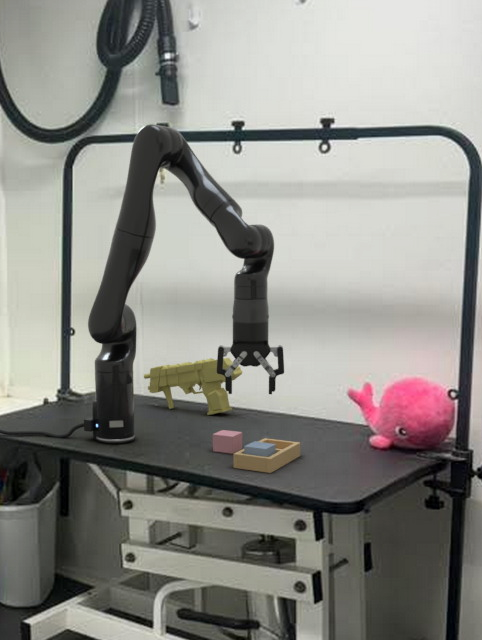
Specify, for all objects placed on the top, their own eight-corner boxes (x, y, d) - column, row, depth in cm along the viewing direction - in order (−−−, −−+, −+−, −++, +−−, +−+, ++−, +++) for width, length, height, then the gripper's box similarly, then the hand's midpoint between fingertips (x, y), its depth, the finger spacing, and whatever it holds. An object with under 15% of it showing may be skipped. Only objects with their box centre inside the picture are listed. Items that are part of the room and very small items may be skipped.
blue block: (244, 464, 200) (244, 446, 200) (254, 458, 204) (254, 441, 204) (265, 467, 198) (266, 448, 197) (275, 461, 201) (275, 443, 201)
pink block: (212, 451, 214) (212, 434, 214) (222, 446, 218) (222, 429, 218) (232, 453, 212) (232, 436, 211) (242, 449, 216) (242, 432, 215)
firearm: (158, 419, 268) (148, 367, 268) (249, 407, 249) (238, 352, 248) (149, 422, 265) (139, 370, 264) (241, 410, 246) (230, 354, 245)
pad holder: (233, 467, 200) (233, 453, 200) (264, 451, 213) (264, 438, 212) (270, 473, 195) (270, 458, 195) (300, 456, 208) (300, 442, 207)
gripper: (284, 317, 202) (283, 390, 205) (217, 317, 205) (217, 390, 208) (285, 321, 195) (284, 397, 198) (216, 321, 198) (216, 396, 201)
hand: (250, 393), depth 203 cm, fingers open, 8 cm apart
